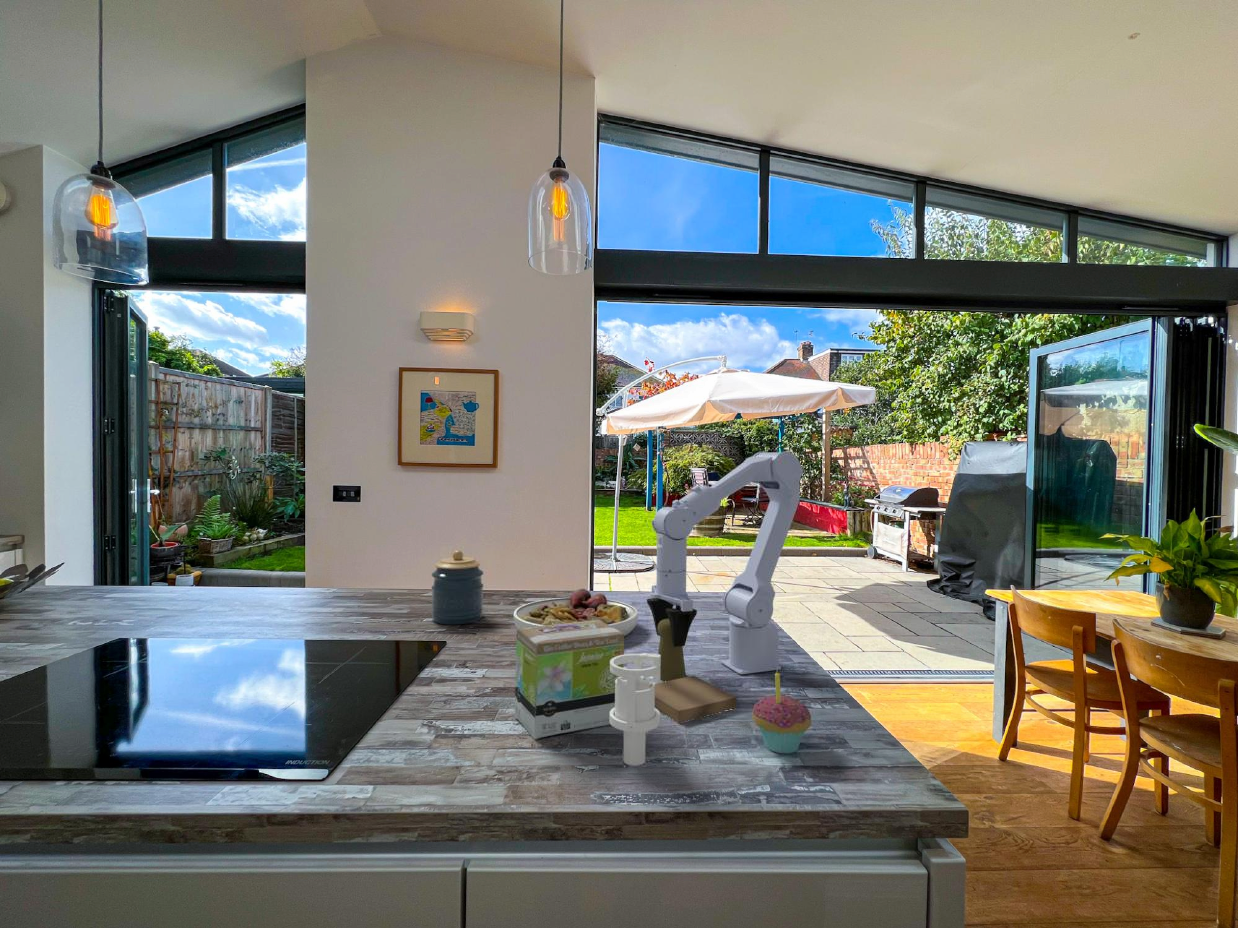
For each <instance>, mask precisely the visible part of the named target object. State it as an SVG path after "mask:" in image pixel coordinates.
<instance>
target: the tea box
mask: <svg viewBox="0 0 1238 928" xmlns="http://www.w3.org/2000/svg"><path fill="white" fill-rule="evenodd" d="M515 647H516V648H515V649H516V651H515V653H516V654H515V675H514V677H515V681H514V682H515V683H514V686H515V687H514V690H515V691H514V716H515V718H516V719H517V720H518V721H519V723H520V724H521V725H522V727H524V729H525V730H526V731H527V732H528V733H529V735H530V736H531V737H532V738H533V739H534V740H538V739H543V738H545V737H549V736H555V735H559V734H565V733H571V732H576V731H577V732H578V731H581V730H586V729H593V728H598V727H600V728H601V727H605V726H612V725H611V724H610V721H609V717H610V710H611V709H612V708H614V707H615V680H616V679H617V678H618V677H620V676H617V675H614V674H613V673H611V672H610V660H611V659H612V658H614V657H616V656H620V655H625V636H624V634H623V633H622V632H620V631H618V630H616V629H615V628H613V627H611V626H609V625H607V624H606V623H604V622H602V621H600V620H590V621H580V622H571V623H562V624H553V625H544V626H534V627H525V628H518V629H517V628H516V646H515ZM624 665H625V663H624V664H620V665H617V666H619V667H622V668H625V667H624Z"/></svg>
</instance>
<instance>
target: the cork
mask: <svg viewBox="0 0 1238 928" xmlns="http://www.w3.org/2000/svg"><path fill="white" fill-rule="evenodd" d="M658 634H659V636H658V637H659V645H658V651H657V652H658V653H657V654H659V655H661V663H660V680H661V681H660V682H664V681H670V680H675V679H680V678H685V677H687V673H686V664H685V658H684V657H685V656H684V648H683V647H684V646H679V647H675V646H673V642H672V632H671V625H670V621H669V619H663V620H661V621H660V622H659V624H658Z"/></svg>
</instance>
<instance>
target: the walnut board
mask: <svg viewBox="0 0 1238 928" xmlns="http://www.w3.org/2000/svg"><path fill="white" fill-rule="evenodd" d="M652 684H653V683H651V684H649V689H650V688H651V687H652ZM654 684H655V708H656V709H657V710H658V711H659V712H660V714H662V713H663V714H662V715H664V716H665V715H667V716H668V717H667V716H666V717H667V718H669V717H670V718H671V720H672V719H673V720H674V721H673V720H672V721H673V722H675V723H676V722H677V723H676V724H678V723H679V724H682V723H681V722H683V723H686V722H685V721H687V722H689V721H688V720H691V721H693V720H692V719H695V720H698V719H697V718H699V719H701V718H700V717H703V718H705V717H704V716H707V715H711V716H713V715H712V714H715V715H717V714H716V713H719V712H723V713H725V712H724V711H725V710H730V709H735V708H737V706H738V705H737V696H735V695H733V694H732V693H729V692H727V691H726V690H724V689H721V688H720V687H717V686H716V685H713V684H711V683H710V682H707V681H704V680H703V679H701V678H699V677H697V676H696V675H690V676H686V677H685V678H680V679H675V680H670V681H666V682H664V681H660V682H655V683H654ZM735 710H736V709H735ZM719 714H720V713H719ZM707 717H708V716H707ZM670 718H669V719H670Z"/></svg>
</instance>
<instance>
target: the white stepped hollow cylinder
mask: <svg viewBox="0 0 1238 928" xmlns="http://www.w3.org/2000/svg"><path fill="white" fill-rule="evenodd" d="M628 663H629V664H630V663H633V664H634V668H626V667H623V668H622V667H619V666H617V665H620V664H624V665H625V664H628ZM660 663H661V655H659V654H658V653H657V654H656V653H655V654H654V653H648V652H643V653H640V654H639V653H628V654H624V655H620V656H616V657H614V658H612V659H611V660H610V672H611V673H613V674H614V675H617V676H620V677H618V678H617V679H616V680H615V707H614V708H612V709H611V710H610V717H609V721H610V724H611V725H610V726H611V727H613V728H614V729H617V730H620V731H623V762H624V764H625V765H628V766H634V767H637V766H642V765H643V764H645V762H646V740H647V739H646V732H648V731H652V730H654V729H656V728H657V727H659V726H660V724H661V712H659V711H658V710H657V709H656V708H655V684H656V683H661V681H660ZM643 664H646V665H650V666H651V667H648V668H646V667H645V668H643ZM650 682H651V684H652V687H651V688H650V689H649V685H650Z"/></svg>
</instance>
